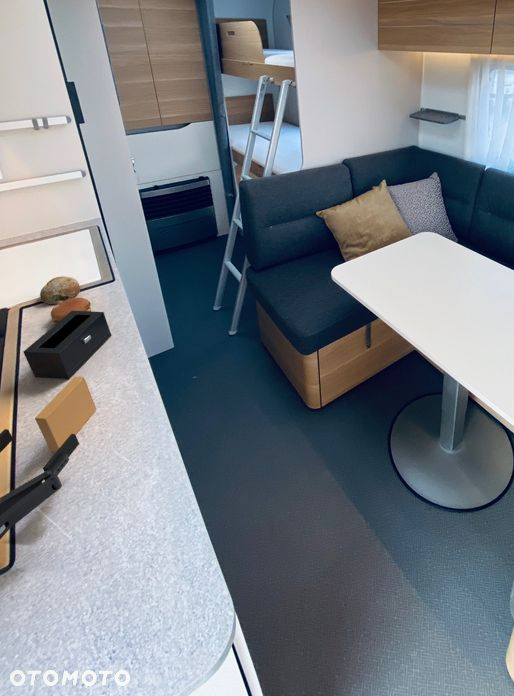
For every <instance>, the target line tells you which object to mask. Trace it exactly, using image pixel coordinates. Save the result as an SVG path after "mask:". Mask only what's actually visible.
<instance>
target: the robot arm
mask: <svg viewBox="0 0 514 696" xmlns="http://www.w3.org/2000/svg"><path fill="white" fill-rule="evenodd" d="M13 440H14V438H13V436H12V434H11V432H10V430H9V428H8V429H7V428H4V429H3V430H2V431H1V432H0V454H1V453H2V452H3V451H4V450H5V449H6V448H7V447H8V445H10V443H11V442H12V441H13ZM79 445H80V442H79V440H78V437H77V434H76V435H75V434H71V435H70V436H69V437H68V438H67V440H66V441H65V442H64V443H63V444H62V446H61V447H60V448H59V449H58V450H57V452H56V453H55V452H54V454H53V455H52V456H51V457H50V458H49V460H48V461H47V462H46V464H45V465H44V466H43V467H42V470H43V472H42V473H40V474H38V475H36V476H34V477H33V478H31V479H29V480H28V481H26V482H24V483H22V484H21V485H19V486H17V487H16V488H14V489H12V490H11V491H9V492H7V493H6V494H4V495H3V496H0V540H1V539H2V538H3V537H4V536H5V535H6V534H7V533H8V532H9V531H10V529H11V528H13V527H14V526H15V525H16V524H18V523H19V522H20V521H21V520H22V519H24V518H25V517H26V516H28V515H29V514H30V513H32V512H33V511H34V510H35V509H36V508H38V507H39V506H40V505H41V504H43V503H44V502H45V501H46V500H47V499H49V498H50V497H52V496H53V495H54V494H55V493H56V492H58V491H60V489H61V488H62V486H63V484H62V482H61V480H60V477H59V475H60V473H61V472H62V471H63V469H65V467H66V465H67V464H68V463H69V461H70V457H71V455H72V454H73V453H74V451H75V450H76V449H77V447H78V446H79Z"/></svg>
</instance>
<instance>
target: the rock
mask: <svg viewBox="0 0 514 696" xmlns="http://www.w3.org/2000/svg"><path fill="white" fill-rule="evenodd" d="M80 292H81V285H80V283H79V282H78V280H77V279H76V278H74V277H71V276H56V277H53V278H52V279H49V280H48V281H47V282H46V284H45V285H44V286H43V287H42V288H41V289H40V293H39V297H40V300H41V302H42V303H45V304H48V305H57V304H58V303H61V302H64V301H67V300H69V299H71V298H76V297H77V296H79V294H80Z"/></svg>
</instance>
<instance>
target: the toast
mask: <svg viewBox="0 0 514 696" xmlns="http://www.w3.org/2000/svg"><path fill="white" fill-rule="evenodd" d="M96 411H97V407H96V404H95V402H94V399H93V397H92V394H91V392H90V388H89V386H88V383H87V381H86V378H85V376H73V377H72V378H71V379H70V380H69V382H68V383H67V384H66V385H64V387H63V388H62V389H61V390H60V391H59V392H58V393H57V394H56V396H54V398H52V400H50V402H48V403H47V405H46V406H45V407H44V408H43V409H42V410H41V411H40V412H39V413H38V414H37V415H36V416H35V417H34V420H35V421H36V425H37V426H38V429H39V430H40V433H41V434H42V437H43V438H44V440H45V443H46V445H47V447H48V449H49V451H50V453H54V454H55V453H56V452H57V450H58V449H59V448H60V447H61V446H62V444H63V443H64V442H65V441H66V440H67V438H68V437H69V436H70V435H71V434H75V435H76V436H77V434H78V433H79V431H81V429H82V428H83V427H84V425H85V424H86V423H87V422H88V421H89V419H90V418H91V417H92V416H93V415H94V413H95V412H96Z"/></svg>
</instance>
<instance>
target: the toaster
mask: <svg viewBox="0 0 514 696" xmlns="http://www.w3.org/2000/svg"><path fill="white" fill-rule="evenodd" d="M111 337H112V333H111V330H110V326H109V324H108V320H107V317H106V315H105V312H104V311H92V310H91V311H71V312H70V313H69V314H67V315H66V316H65V317H64V318H63V319H61V320H60V321H59V322H58V323H57V324H56V325H54V324H53V326H52V327H51V328H49V329H48V330H47V331H46V332H45V333H43V334H42V335H41V336H40V337H39V338H38V339H36V340H35V341H34V342H33V343H32V344H30V345H29V346H28V347H26V348H25V350H23V352H22V353H23V354H24V357H25V359H26V361H27V364H28V367H29V368H30V370H31V373H32V375H33V376H34V378H38V379H39V378H40V379H57V380H71V379H72V378H73V377H74V375H75V374H76V373H77V372H79V370H80V369H81V368H82V367H83V366H84V365H85V364H86V363H87V362H88V361H89V360H90V359H91V358H92V357H93V356H94V355H95V354H96V353H97V352H98V350H99V349H100V348H101V347H102V346H103V345H104V344H105V343H106V342H107V341H108V340H109V339H110V338H111Z"/></svg>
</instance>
